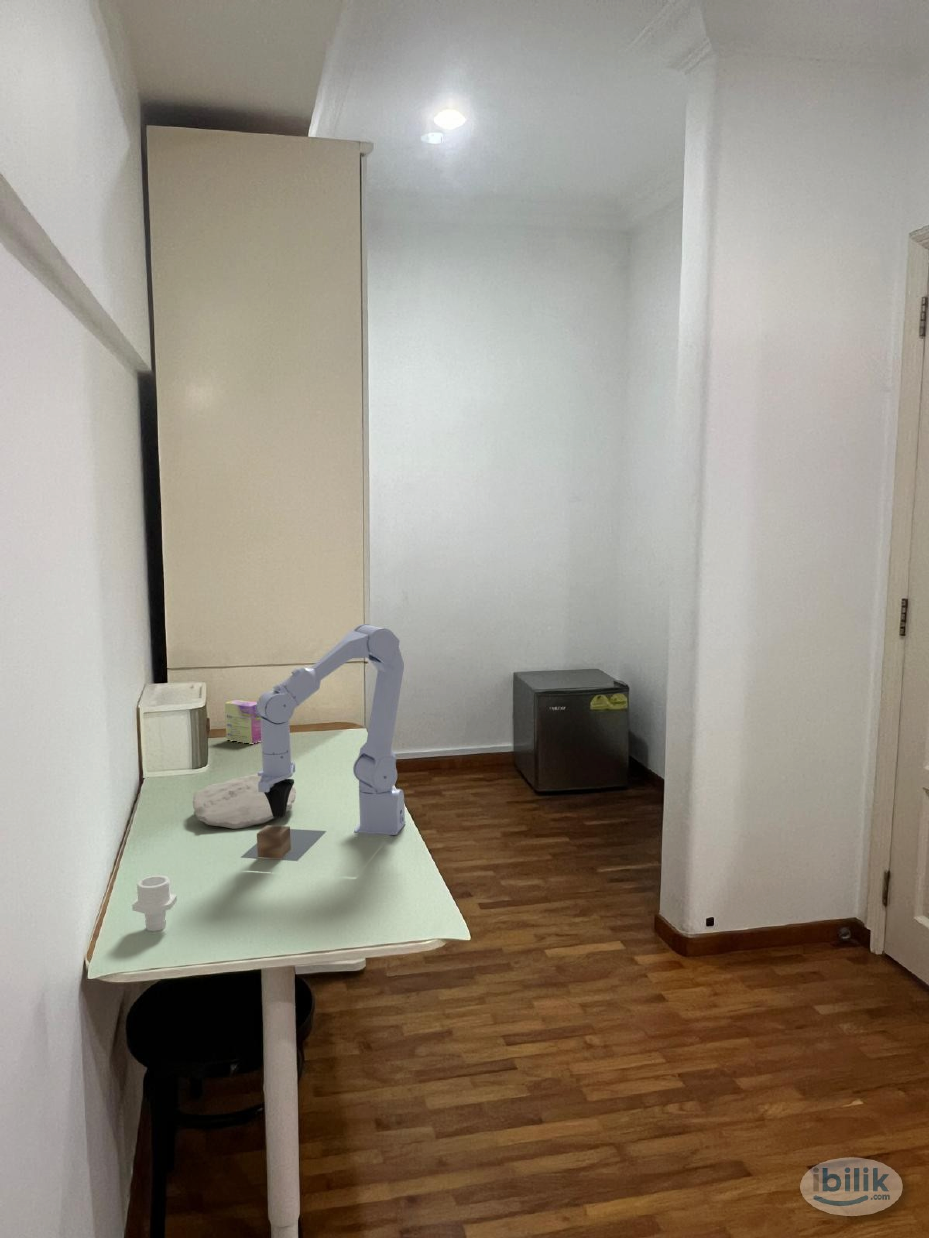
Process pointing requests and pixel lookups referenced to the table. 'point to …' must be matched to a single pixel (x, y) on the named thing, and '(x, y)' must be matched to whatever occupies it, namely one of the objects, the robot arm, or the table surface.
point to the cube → (273, 842)
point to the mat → (293, 844)
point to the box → (242, 721)
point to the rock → (235, 803)
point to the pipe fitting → (154, 901)
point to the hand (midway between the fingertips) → (279, 816)
